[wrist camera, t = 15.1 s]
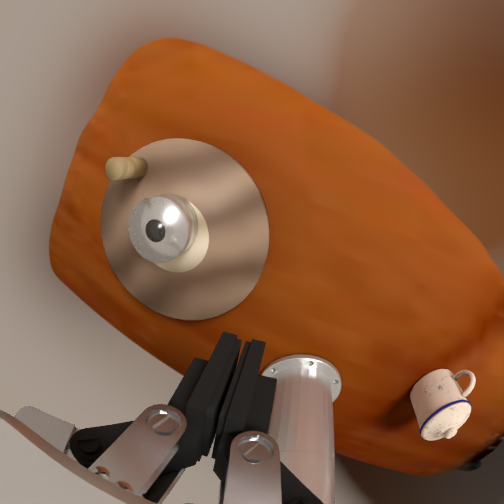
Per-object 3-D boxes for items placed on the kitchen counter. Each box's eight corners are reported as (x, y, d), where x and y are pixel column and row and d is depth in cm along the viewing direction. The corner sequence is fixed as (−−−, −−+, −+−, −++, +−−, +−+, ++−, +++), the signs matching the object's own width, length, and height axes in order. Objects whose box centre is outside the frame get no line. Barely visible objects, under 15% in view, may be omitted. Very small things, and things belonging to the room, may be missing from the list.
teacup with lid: (427, 408, 36) (443, 454, 25) (398, 397, 36) (412, 449, 25) (472, 362, 32) (499, 406, 21) (447, 346, 32) (477, 394, 21)
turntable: (302, 279, 31) (301, 306, 25) (157, 331, 37) (135, 357, 31) (215, 104, 27) (193, 89, 21) (86, 197, 33) (54, 204, 27)
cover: (208, 240, 30) (197, 250, 27) (160, 261, 32) (145, 271, 28) (182, 182, 29) (168, 184, 25) (136, 209, 30) (118, 214, 27)
